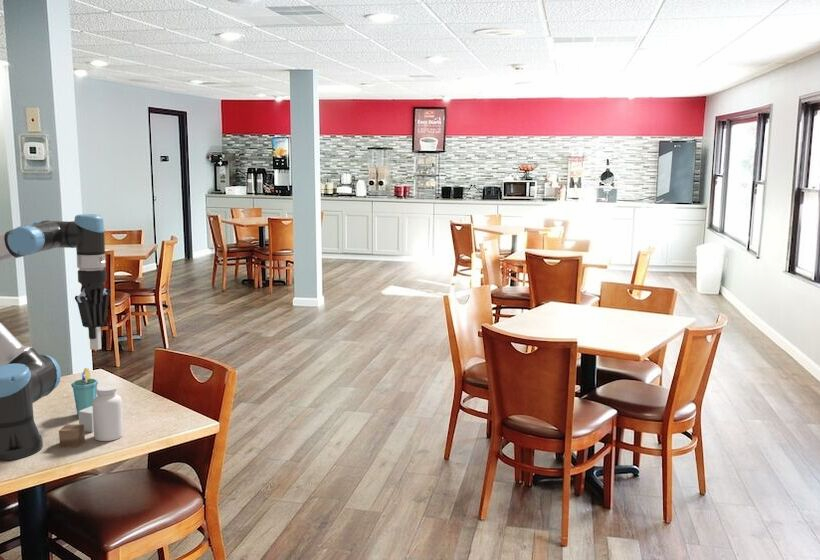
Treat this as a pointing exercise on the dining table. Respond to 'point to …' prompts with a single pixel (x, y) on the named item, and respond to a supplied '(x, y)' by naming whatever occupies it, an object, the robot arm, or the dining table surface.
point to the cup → (84, 391)
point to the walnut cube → (71, 435)
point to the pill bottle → (107, 414)
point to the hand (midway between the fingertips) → (95, 348)
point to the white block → (87, 419)
